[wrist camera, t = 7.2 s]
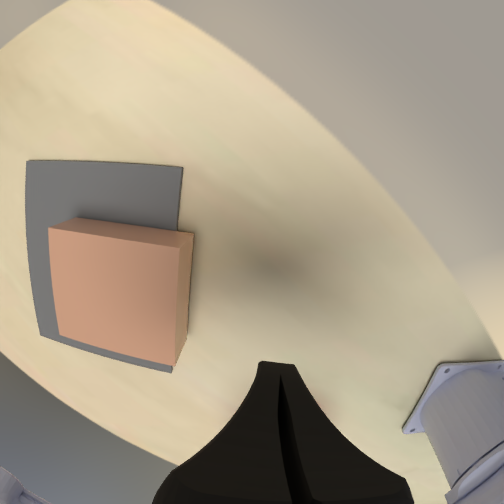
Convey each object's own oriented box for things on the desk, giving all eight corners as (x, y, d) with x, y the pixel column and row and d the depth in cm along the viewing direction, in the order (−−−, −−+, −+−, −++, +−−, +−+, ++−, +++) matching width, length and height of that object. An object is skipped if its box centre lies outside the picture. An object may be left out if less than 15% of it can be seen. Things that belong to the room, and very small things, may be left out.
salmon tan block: (179, 248, 14) (48, 227, 14) (174, 366, 16) (59, 334, 16) (194, 232, 17) (77, 216, 17) (187, 337, 19) (82, 313, 19)
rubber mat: (183, 167, 17) (181, 167, 16) (172, 370, 21) (171, 373, 20) (29, 160, 17) (26, 160, 16) (42, 333, 21) (40, 335, 20)
